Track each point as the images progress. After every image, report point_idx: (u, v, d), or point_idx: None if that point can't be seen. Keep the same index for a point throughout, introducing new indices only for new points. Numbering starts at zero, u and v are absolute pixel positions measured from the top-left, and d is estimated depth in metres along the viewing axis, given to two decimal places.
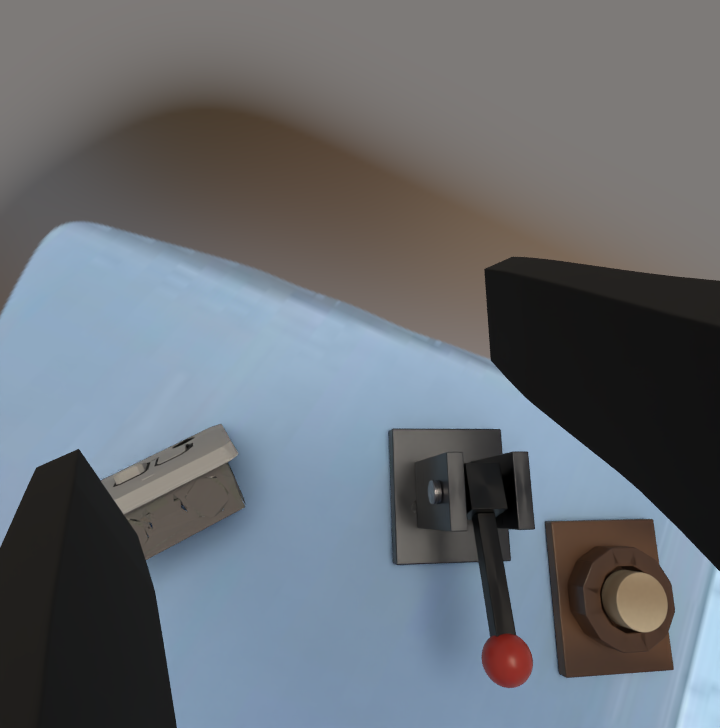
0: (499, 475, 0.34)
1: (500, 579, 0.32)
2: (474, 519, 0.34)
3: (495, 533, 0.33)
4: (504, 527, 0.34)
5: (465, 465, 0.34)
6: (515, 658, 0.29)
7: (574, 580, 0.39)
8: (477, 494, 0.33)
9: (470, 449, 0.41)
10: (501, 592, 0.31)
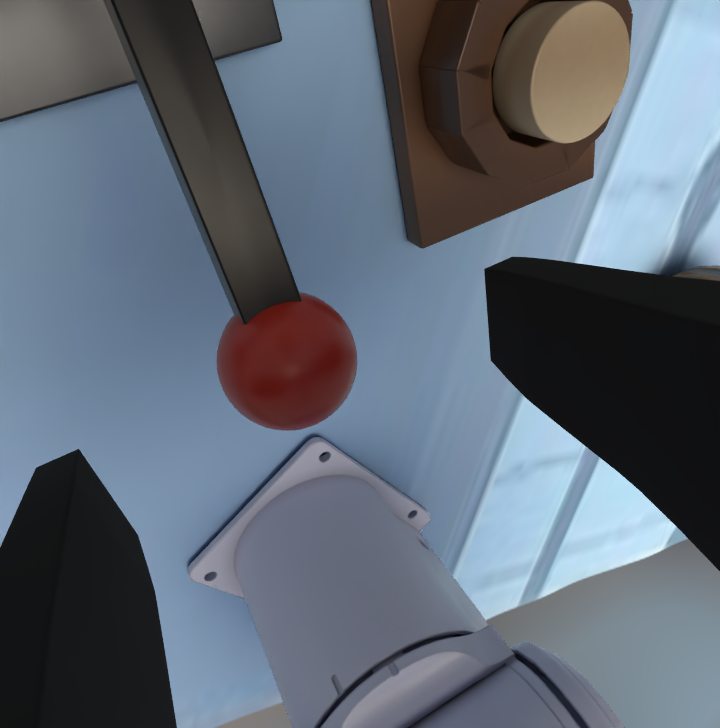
0: None
1: (220, 143, 0.09)
2: None
3: None
4: None
5: None
6: (305, 380, 0.10)
7: (434, 56, 0.17)
8: None
9: None
10: (232, 188, 0.09)
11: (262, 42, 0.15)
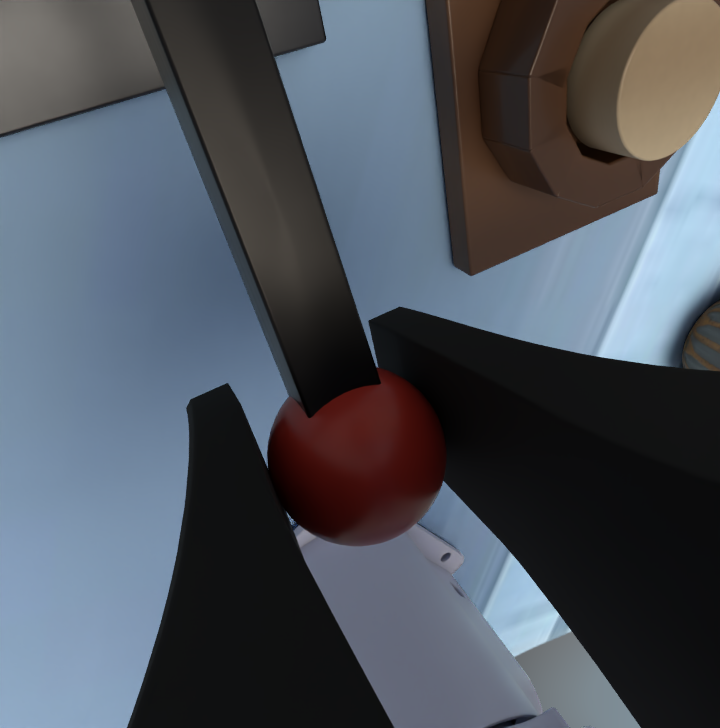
0: None
1: (285, 183, 0.07)
2: None
3: None
4: None
5: None
6: (391, 493, 0.07)
7: (499, 59, 0.14)
8: None
9: None
10: (298, 242, 0.07)
11: (303, 43, 0.13)
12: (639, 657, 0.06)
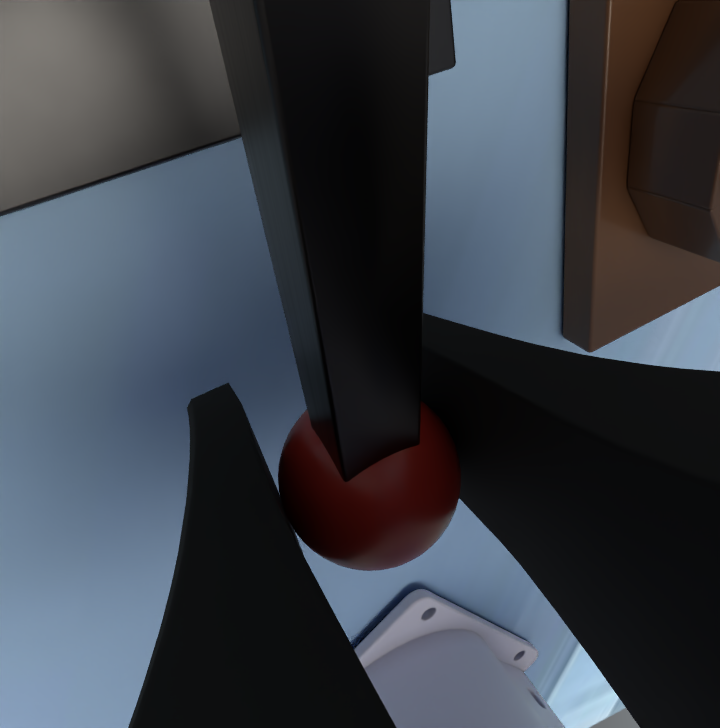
0: None
1: (391, 292, 0.05)
2: None
3: None
4: None
5: None
6: (413, 549, 0.08)
7: (671, 87, 0.11)
8: None
9: None
10: (386, 347, 0.06)
11: None
12: (638, 658, 0.06)
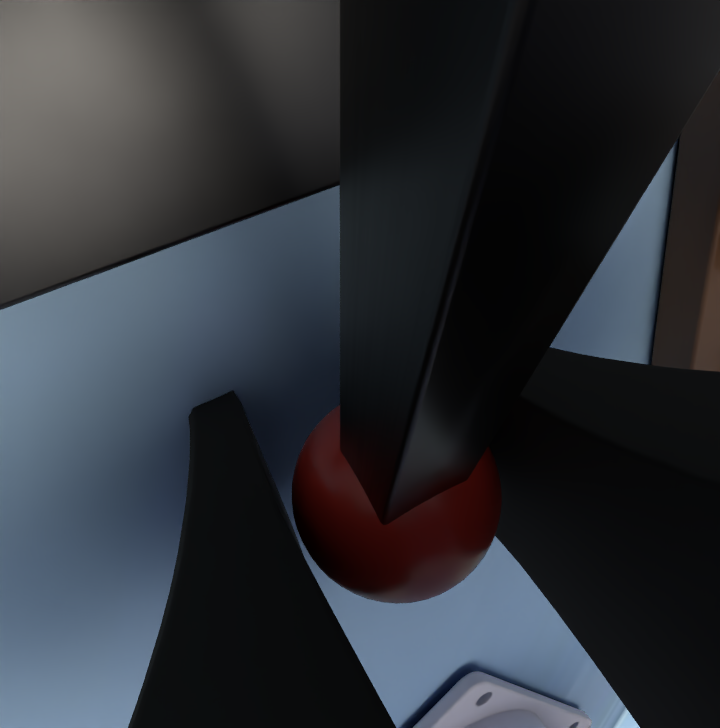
0: None
1: (511, 366, 0.04)
2: None
3: None
4: None
5: None
6: None
7: None
8: None
9: None
10: (477, 414, 0.04)
11: None
12: (638, 657, 0.06)
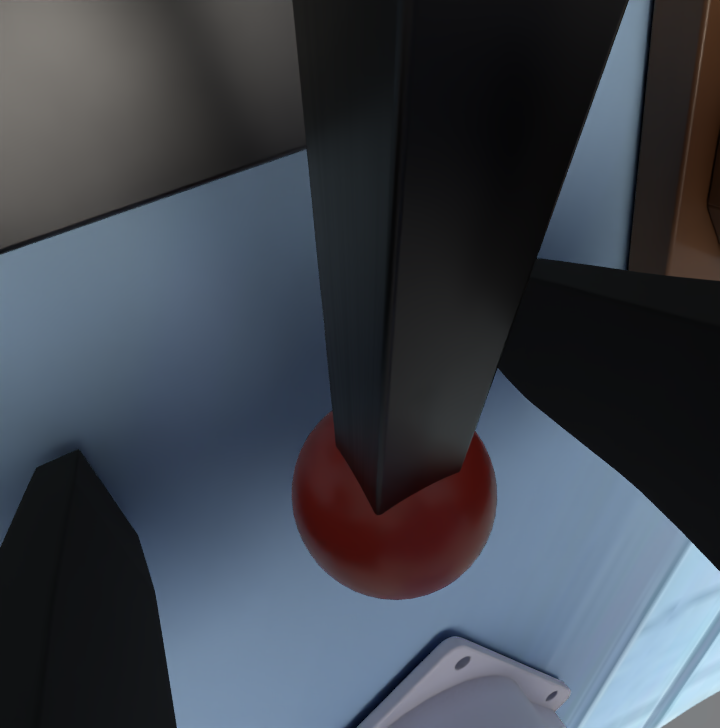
0: None
1: (478, 334, 0.04)
2: None
3: None
4: None
5: None
6: None
7: None
8: None
9: None
10: (454, 388, 0.04)
11: None
12: None
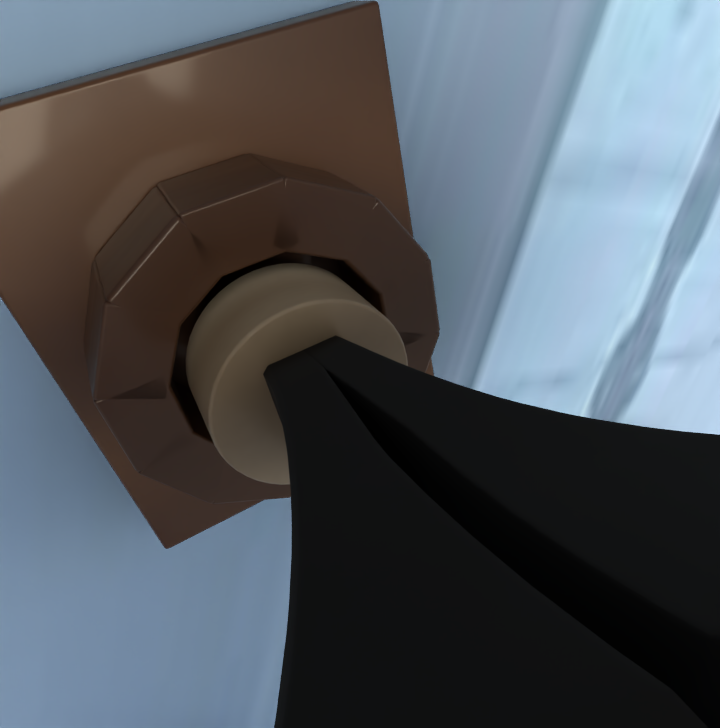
0: None
1: None
2: None
3: None
4: None
5: None
6: None
7: (88, 349, 0.10)
8: None
9: None
10: None
11: None
12: None
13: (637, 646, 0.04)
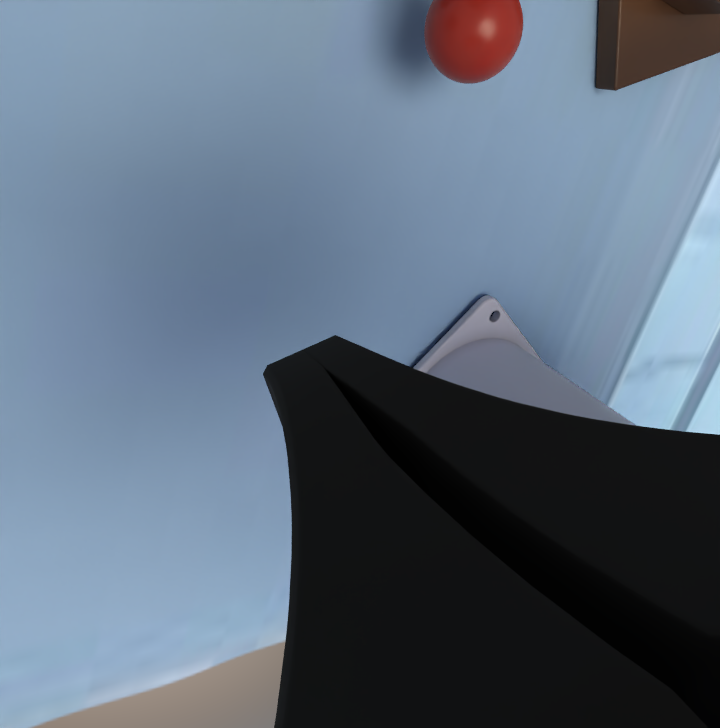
0: None
1: None
2: None
3: None
4: None
5: None
6: (499, 51, 0.15)
7: None
8: None
9: None
10: None
11: None
12: None
13: (637, 647, 0.04)
